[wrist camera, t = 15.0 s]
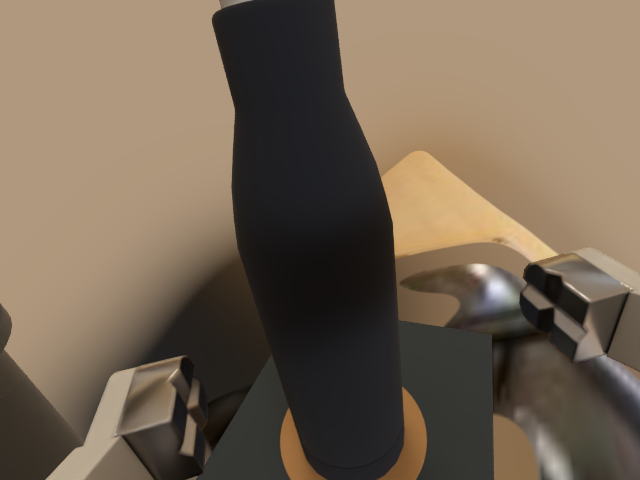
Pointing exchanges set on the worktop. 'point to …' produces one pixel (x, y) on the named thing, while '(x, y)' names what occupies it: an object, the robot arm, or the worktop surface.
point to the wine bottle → (314, 234)
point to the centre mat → (419, 416)
